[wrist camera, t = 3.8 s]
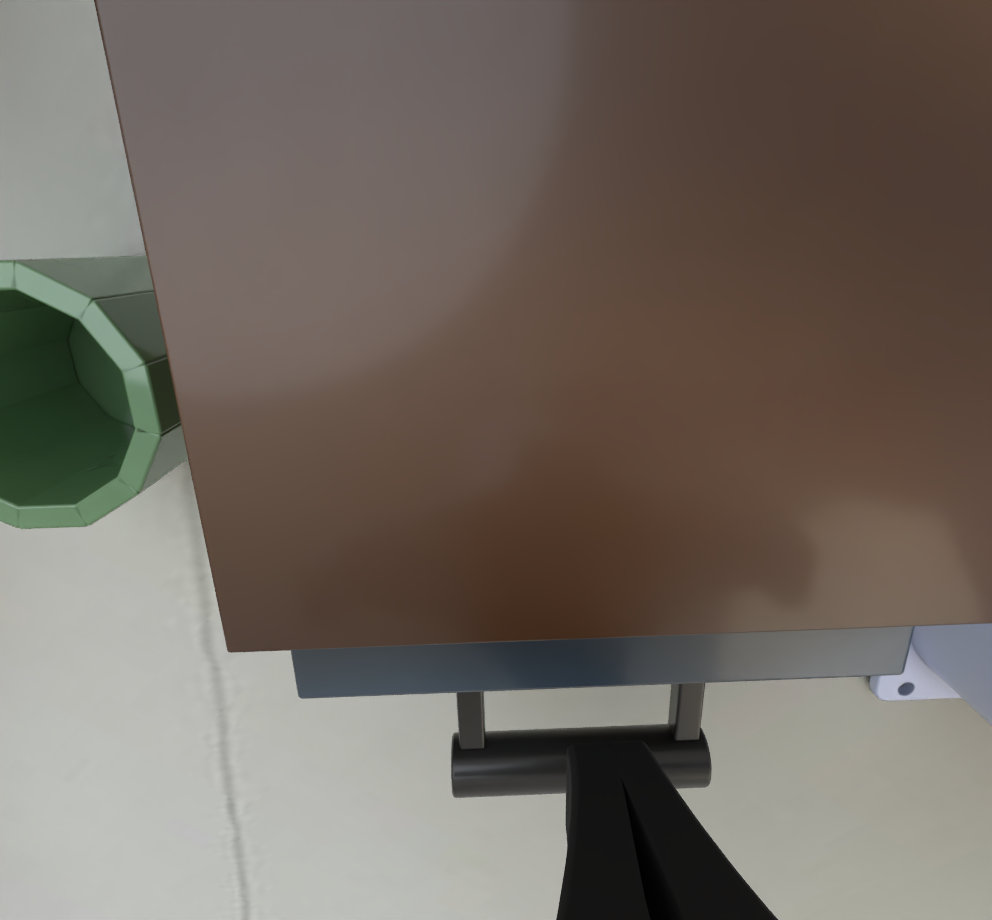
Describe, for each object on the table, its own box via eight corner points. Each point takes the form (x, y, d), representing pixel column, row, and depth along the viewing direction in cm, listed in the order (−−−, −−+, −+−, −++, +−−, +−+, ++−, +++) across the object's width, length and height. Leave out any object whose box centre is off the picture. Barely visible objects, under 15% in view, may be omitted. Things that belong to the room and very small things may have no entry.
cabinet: (762, 451, 18) (1002, 625, 10) (343, 464, 18) (225, 654, 9) (844, -207, 13) (1472, -983, 5) (266, -198, 13) (-115, -993, 5)
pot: (241, 253, 16) (123, 256, 10) (271, 440, 17) (181, 524, 12) (42, 258, 15) (-177, 264, 10) (91, 446, 17) (-77, 533, 12)
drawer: (730, 661, 19) (859, 872, 13) (380, 674, 19) (329, 896, 12) (819, -64, 13) (1155, -370, 6) (301, -54, 13) (122, -356, 6)
